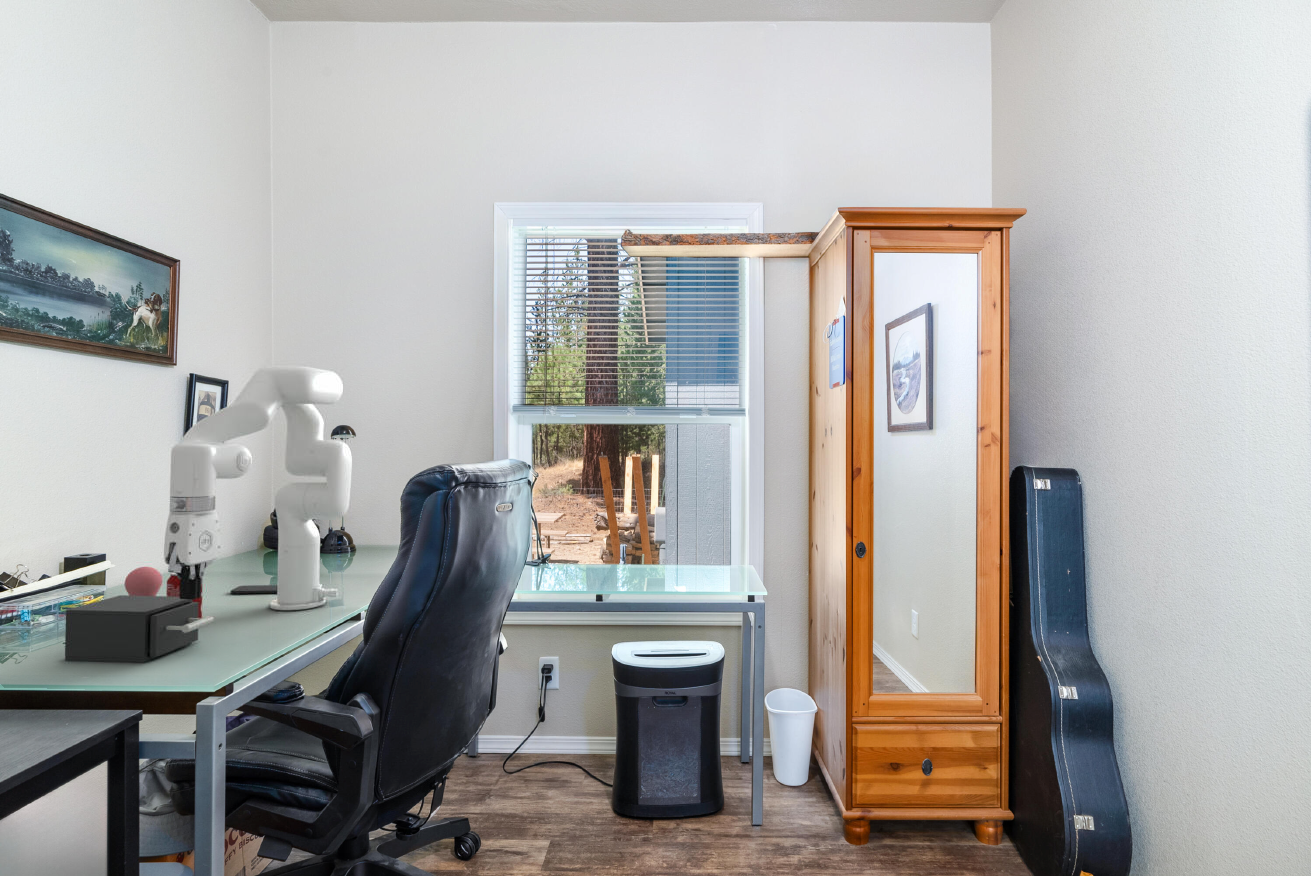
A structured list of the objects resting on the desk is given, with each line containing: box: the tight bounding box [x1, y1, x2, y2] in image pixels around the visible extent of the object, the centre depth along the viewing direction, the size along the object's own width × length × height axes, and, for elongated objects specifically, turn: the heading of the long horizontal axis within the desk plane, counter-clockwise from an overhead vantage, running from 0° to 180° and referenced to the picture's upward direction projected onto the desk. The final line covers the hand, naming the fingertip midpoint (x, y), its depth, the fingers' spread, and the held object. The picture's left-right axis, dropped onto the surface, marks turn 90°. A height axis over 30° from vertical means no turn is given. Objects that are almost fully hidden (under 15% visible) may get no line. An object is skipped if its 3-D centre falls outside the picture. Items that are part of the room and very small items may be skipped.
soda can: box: [165, 572, 204, 618], centre depth 156 cm, size 7×7×12 cm
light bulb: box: [124, 566, 163, 596], centre depth 161 cm, size 7×7×12 cm
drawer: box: [148, 602, 214, 658], centre depth 136 cm, size 19×11×8 cm, turn 88°
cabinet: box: [64, 594, 193, 664], centre depth 136 cm, size 16×13×10 cm
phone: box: [230, 584, 278, 594], centre depth 191 cm, size 7×1×15 cm
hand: (190, 598), depth 135 cm, fingers closed
